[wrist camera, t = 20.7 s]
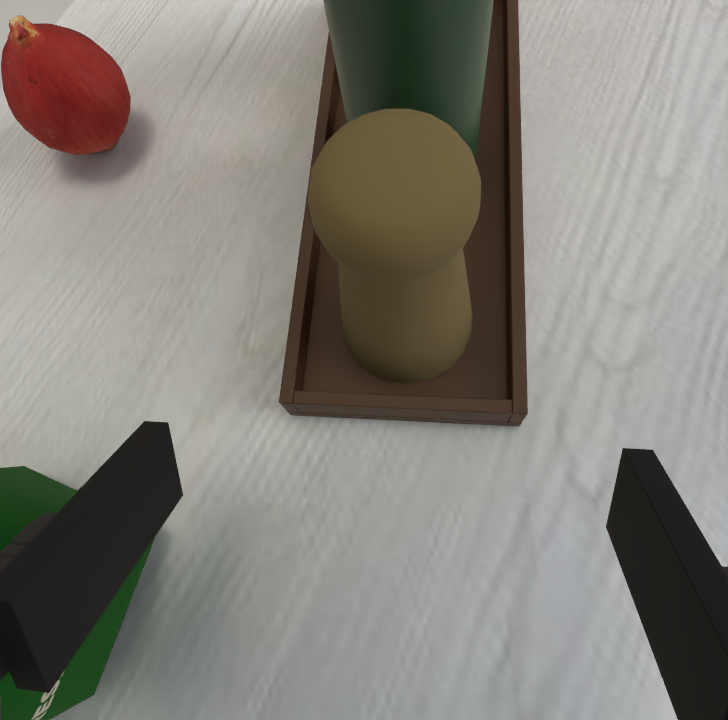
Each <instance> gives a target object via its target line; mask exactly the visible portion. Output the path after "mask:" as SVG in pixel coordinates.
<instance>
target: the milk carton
mask: <svg viewBox="0 0 728 720" xmlns="http://www.w3.org/2000/svg"><path fill="white" fill-rule="evenodd" d="M77 492H78V491H76V490H74V489H72V488H70V487H67V486H65V485H63V484H61V483H59V482H57V481H55V480H53V479H50V478H48V477H46V476H44V475H42V474H40V473H38V472H36V471H33V470H31V469H29V468H27V467H25V466H20V467H8V468H0V551H1V550H2V549H3V548H4V547H5V546H6V545H7V544H10V543H11V540H12V539H13V538H14V537H15V536H16V535H17V534H18V533H19V532H20V531H21V530H22V529H23V528H24V527H25V526H26V525H28V524H29V523H31V522H32V521H34V520H36V519H37V518H39V517H40V516H42V515H44V514H45V513H47V512H51V513H57V512H58V511H59V510H60V509H61V508H62V507H63V506H64V505H65V504H66V503H67V502H68V501H69V500H70V499H71V498H72V497H73V496H74V495H75V494H76V493H77ZM154 538H155V537H154ZM153 541H154V539H153V540H152V542H151V543H150V545H149V546H148V548H147V549H146V551H145V552H144V554H143V555H142V557H141V558H140V559H139V561H138V562H137V564H136V565H135V567H134V568H133V570H132V571H131V573H130V574H129V576H128V577H127V579H126V580H125V582H124V583H123V585H122V586H121V588H120V589H119V591H118V592H117V594H116V595H115V596H114V598H113V599H112V601H111V602H110V604H109V605H108V607H107V608H106V610H105V611H104V613H103V614H102V616H101V617H100V619H99V620H98V622H97V623H96V625H95V626H94V628H93V629H92V631H91V632H90V633H89V635H88V636H87V638H86V639H85V641H84V642H83V644H82V645H81V647H80V648H79V650H78V651H77V653H76V654H75V656H74V657H73V659H72V660H71V662H70V663H69V665H68V666H67V668H66V669H65V670H64V672H63V673H62V675H61V676H60V678H59V679H58V681H57V682H56V684H55V685H54V687H53V688H52V690H51V691H50V693H45V692H37V691H30V690H22V689H17V687H16V685H15V683H14V681H13V678H12V676H11V674H10V672H8V673H7V674H6V676H5V677H4V678H3V679H2V681H1V682H0V695H1V713H2V720H50V719H51V718H53V717H55V716H57V715H59V714H60V713H62V712H64V711H66V710H68V709H69V708H71V707H73V706H75V705H77V704H78V703H80V702H82V701H84V700H86V699H87V698H89V697H91V696H93V695H94V694H95V691H96V688H97V685H98V683H99V680H100V678H101V675H102V673H103V670H104V667H105V665H106V662H107V660H108V657H109V655H110V652H111V649H112V647H113V644H114V642H115V639H116V636H117V634H118V631H119V629H120V626H121V624H122V621H123V618H124V616H125V613H126V611H127V608H128V605H129V603H130V600H131V598H132V595H133V593H134V590H135V587H136V585H137V582H138V580H139V577H140V575H141V572H142V569H143V567H144V564H145V562H146V559H147V556H148V554H149V551H150V549H151V546H152V544H153Z"/></svg>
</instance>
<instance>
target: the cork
mask: <svg viewBox="0 0 728 720" xmlns="http://www.w3.org/2000/svg"><path fill="white" fill-rule="evenodd" d="M480 201H481V178H480V175H479V171H478V167H477V165H476V162H475V159H474V156H473V154H472V151H471V148H470V147H469V146H468V145H467V144H466V143H465V141H464V140H463V139H462V138H461V137H460V136H459V135H458V133H457V132H456V131H455V130H454V129H453V128H452V127H451V126H450V125H449V124H447V123H445V122H443V121H442V120H440V119H438V118H437V117H435V116H433V115H432V114H429V113H425V112H421V111H417V110H413V109H383V110H379V111H375V112H371V113H367V114H363V115H361V116H360V117H358V118H356V119H354V120H352V121H350V122H349V123H347V124H345V125H343V126H342V127H341V128H340V129H339V130H338V131H337V132H336V133H335V134H334V135H333V136H332V137H331V138H330V139H329V140H328V141H327V142H326V144H325V146H324V147H323V149H322V151H321V152H320V154H319V156H318V158H317V160H316V162H315V163H314V165H313V167H312V170H311V176H310V182H309V189H308V205H309V210H310V214H311V219H312V224H313V226H314V229H315V232H316V234H317V236H318V237H319V239H320V240H321V242H322V244H323V245H324V247H325V248H326V250H327V251H328V253H329V254H330V255H331V256H332V257H333V258H334V259H335V260H336V261H337V262H338V270H339V286H340V303H341V319H342V330H343V334H344V339H345V343H346V347H347V348H348V350H349V351H350V353H351V355H352V356H353V358H354V360H355V361H356V362H357V363H358V364H359V365H360V366H361V367H363V368H364V369H365V370H366V371H368V372H369V373H370V374H371V375H374V376H376V377H379V378H381V379H384V380H387V381H389V382H396V383H417V382H421V381H425V380H429V379H433V378H435V377H436V376H438V375H440V374H441V373H443V372H445V371H446V370H448V369H450V368H451V367H452V366H453V365H454V364H455V363H456V362H457V360H458V359H459V358H460V357H461V356H462V355H463V354H464V352H465V350H466V348H467V345H468V343H469V340H470V338H471V335H472V320H473V314H472V307H471V300H470V293H469V286H468V279H467V272H466V266H465V259H464V252H463V247H464V245H465V244H466V242H467V241H468V239H469V237H470V235H471V232H472V230H473V228H474V225H475V223H476V221H477V218H478V216H479V210H480Z"/></svg>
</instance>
